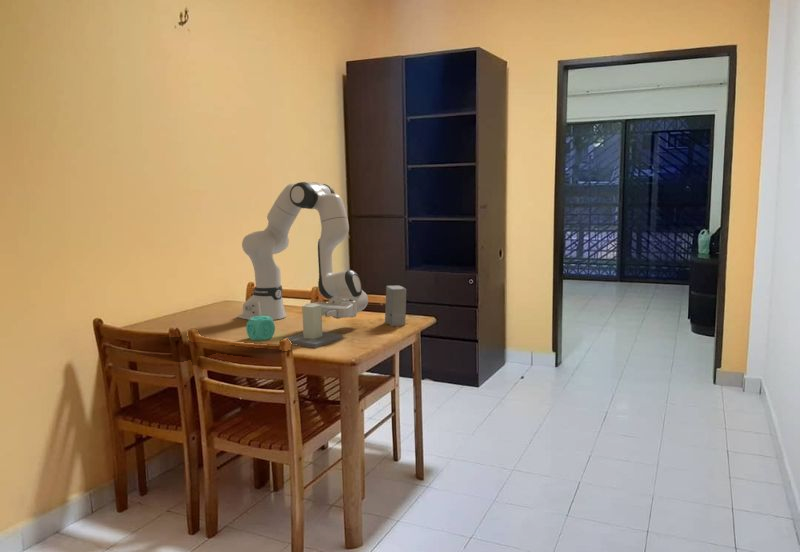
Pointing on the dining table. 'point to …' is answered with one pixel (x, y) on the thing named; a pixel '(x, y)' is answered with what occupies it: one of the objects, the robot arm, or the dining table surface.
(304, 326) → the sage block
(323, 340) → the slate board
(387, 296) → the skincare box
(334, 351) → the dining table surface
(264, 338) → the decorative dice
